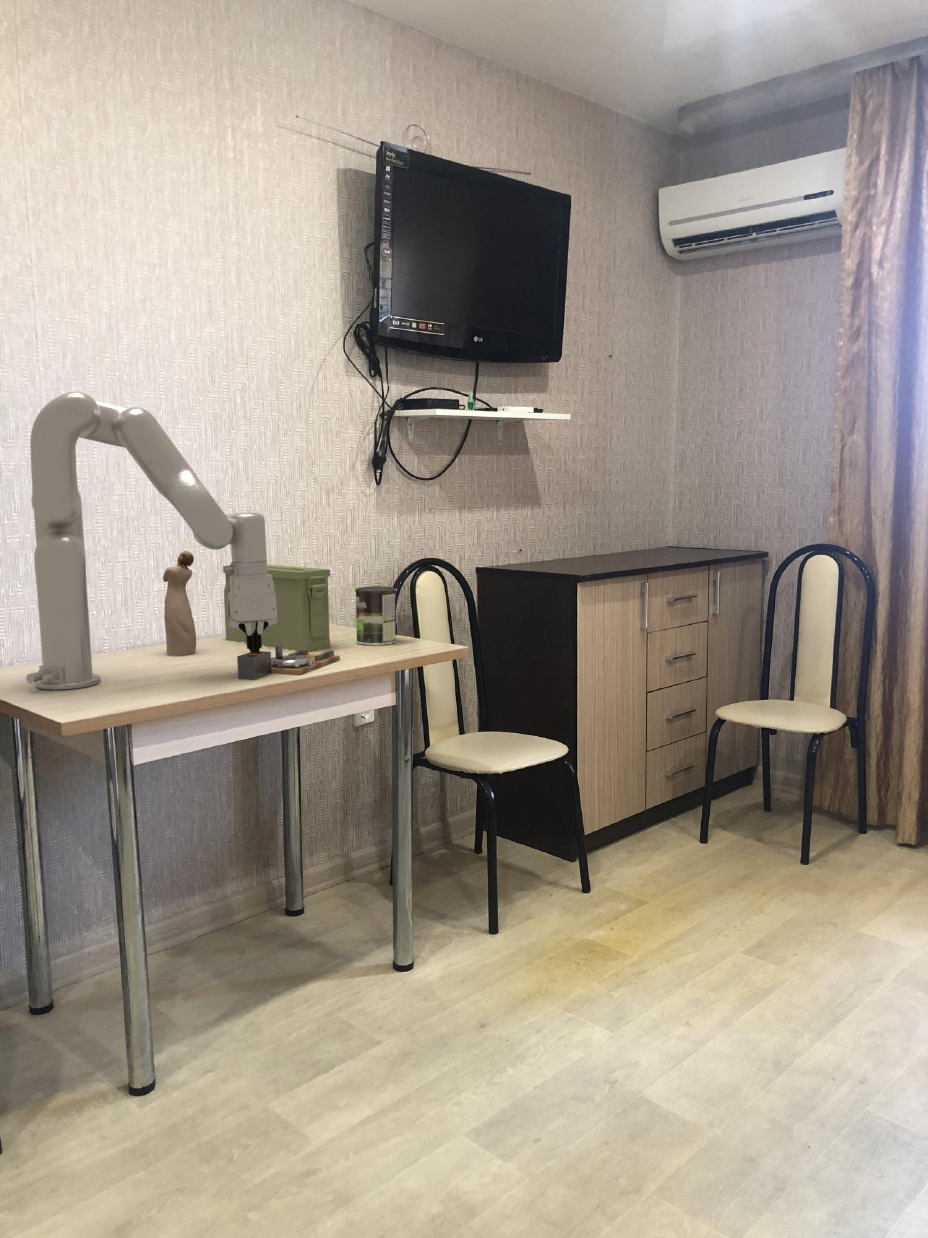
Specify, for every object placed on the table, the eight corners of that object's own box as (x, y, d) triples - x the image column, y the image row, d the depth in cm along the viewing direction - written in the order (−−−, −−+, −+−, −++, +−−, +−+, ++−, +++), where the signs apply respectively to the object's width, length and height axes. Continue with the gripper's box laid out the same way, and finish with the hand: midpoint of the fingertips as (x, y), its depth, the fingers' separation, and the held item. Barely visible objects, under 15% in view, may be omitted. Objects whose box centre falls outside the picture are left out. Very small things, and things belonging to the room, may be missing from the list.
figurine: (202, 650, 247) (198, 549, 243) (190, 656, 238) (185, 552, 235) (172, 650, 247) (167, 550, 244) (158, 656, 239) (153, 552, 236)
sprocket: (299, 668, 214) (299, 651, 214) (260, 666, 218) (259, 649, 217) (321, 660, 224) (320, 644, 223) (282, 658, 227) (282, 642, 226)
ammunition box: (307, 653, 241) (304, 571, 238) (223, 640, 262) (220, 565, 259) (336, 648, 249) (333, 568, 246) (252, 635, 269) (249, 562, 267)
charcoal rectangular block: (254, 680, 209) (253, 656, 209) (238, 679, 211) (237, 655, 210) (271, 674, 216) (270, 651, 215) (255, 673, 217) (254, 650, 216)
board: (300, 675, 214) (300, 665, 214) (255, 672, 218) (255, 662, 217) (340, 659, 232) (339, 650, 231) (298, 657, 235) (298, 648, 235)
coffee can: (364, 647, 249) (362, 591, 247) (351, 641, 259) (349, 587, 257) (402, 644, 254) (401, 589, 252) (388, 638, 263) (387, 585, 261)
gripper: (219, 573, 210) (224, 658, 213) (287, 568, 217) (292, 651, 219) (212, 570, 217) (217, 652, 220) (278, 566, 223) (283, 646, 226)
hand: (254, 651), depth 219 cm, fingers closed
